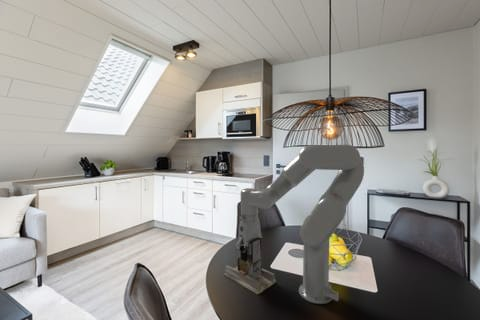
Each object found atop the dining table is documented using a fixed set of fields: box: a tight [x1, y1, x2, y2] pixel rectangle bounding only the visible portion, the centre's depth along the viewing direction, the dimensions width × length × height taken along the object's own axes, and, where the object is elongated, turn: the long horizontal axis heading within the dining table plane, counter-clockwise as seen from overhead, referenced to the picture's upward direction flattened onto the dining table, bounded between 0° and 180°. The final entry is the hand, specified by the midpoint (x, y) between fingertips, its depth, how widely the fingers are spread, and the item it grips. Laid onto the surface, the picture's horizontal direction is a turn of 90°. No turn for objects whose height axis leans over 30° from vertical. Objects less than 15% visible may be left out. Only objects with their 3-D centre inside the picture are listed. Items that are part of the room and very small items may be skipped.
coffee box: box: [236, 236, 263, 279], centre depth 104 cm, size 9×6×16 cm
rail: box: [223, 264, 277, 295], centre depth 104 cm, size 12×20×5 cm, turn 45°
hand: (249, 257), depth 104 cm, fingers closed on coffee box, 6 cm apart
